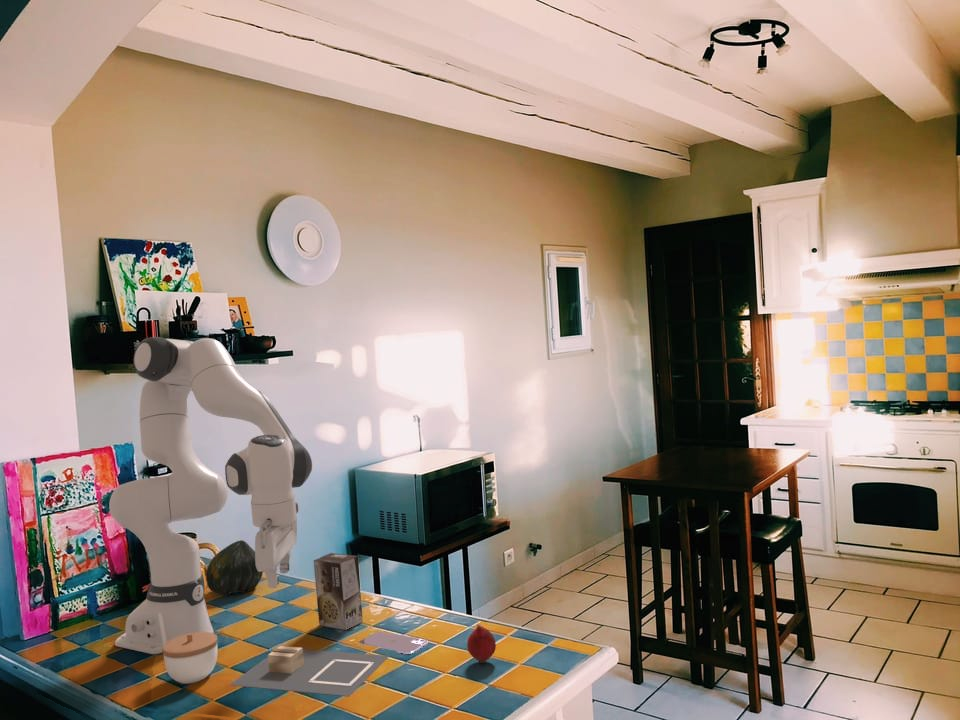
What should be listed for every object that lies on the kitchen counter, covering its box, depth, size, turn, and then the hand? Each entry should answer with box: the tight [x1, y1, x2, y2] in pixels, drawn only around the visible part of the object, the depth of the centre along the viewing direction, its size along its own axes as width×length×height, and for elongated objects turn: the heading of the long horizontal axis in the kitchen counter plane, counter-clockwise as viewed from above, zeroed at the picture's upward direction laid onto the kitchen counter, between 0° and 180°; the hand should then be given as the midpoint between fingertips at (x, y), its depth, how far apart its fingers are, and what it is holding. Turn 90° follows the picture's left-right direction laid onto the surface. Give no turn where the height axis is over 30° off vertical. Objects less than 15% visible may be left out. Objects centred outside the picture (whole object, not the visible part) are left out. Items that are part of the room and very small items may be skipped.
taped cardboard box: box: [267, 645, 304, 674], centre depth 157 cm, size 6×4×4 cm
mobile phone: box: [358, 631, 429, 655], centre depth 167 cm, size 8×1×15 cm
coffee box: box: [313, 552, 364, 631], centre depth 181 cm, size 9×6×16 cm
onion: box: [466, 623, 497, 664], centre depth 154 cm, size 6×6×8 cm
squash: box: [205, 539, 264, 596], centre depth 211 cm, size 14×15×15 cm
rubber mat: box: [229, 648, 390, 697], centre depth 155 cm, size 27×18×1 cm, turn 72°
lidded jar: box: [162, 632, 219, 685], centre depth 156 cm, size 11×11×9 cm
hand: (279, 579), depth 157 cm, fingers open, 8 cm apart
